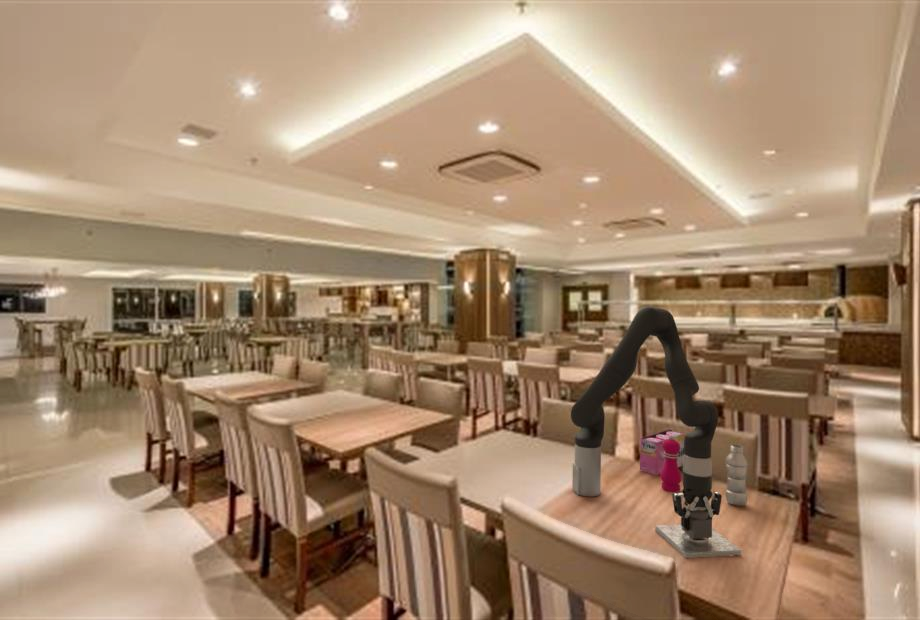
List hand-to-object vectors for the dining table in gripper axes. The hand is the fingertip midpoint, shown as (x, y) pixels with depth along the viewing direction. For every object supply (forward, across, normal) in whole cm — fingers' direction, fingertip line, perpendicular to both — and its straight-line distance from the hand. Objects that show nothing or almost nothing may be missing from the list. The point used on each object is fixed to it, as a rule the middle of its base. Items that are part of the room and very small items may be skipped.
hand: (696, 528), depth 137 cm
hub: (+4, 0, 0) cm, 4 cm away
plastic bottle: (+4, +29, +24) cm, 38 cm away
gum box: (+4, +24, +61) cm, 66 cm away
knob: (+1, 0, 0) cm, 1 cm away
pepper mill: (+4, +14, +38) cm, 41 cm away
